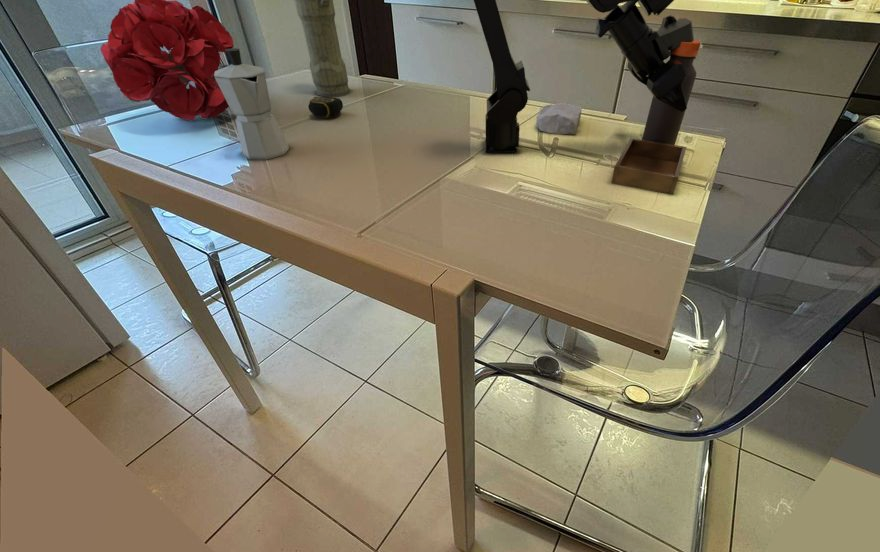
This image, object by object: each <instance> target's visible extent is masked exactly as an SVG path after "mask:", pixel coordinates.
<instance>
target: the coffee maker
mask: <svg viewBox="0 0 880 552" xmlns="http://www.w3.org/2000/svg"><path fill="white" fill-rule="evenodd" d="M225 51H226V52H225V53H226V55H227V57H228V59H229V60H230V62H231V63H230V64H220V65H219V68H218V70H217V71H215V74H214V77H215V79H216V81H217V83H218V85H219V87H220V89H221V91H222V93H223V95H224V97H225V99H226V101H227V103H228V105H229V107H228V108H229V109H230V111H231V113H232V114H234V115H235V116H236V118H235V119H234V120H235V126H236V129H237V130H236V131H237V135H238V141H239V145H240V151H241V155H242V156H243V157H245V158H246V159H248V160H253V161H254V160H260V161H261V160H262V161H263V160H264V161H265V160H271V159H275V158H278V157H282V156H284V155H286V153H287V152H288V151H289V150H290V147H289V145H288V143H287V141H286V138H285V136H284V134H283V132H282V130H281V128H280V126H279V123H278V122H277V120H276V117H275V115H274V114H272V112H271V110H272V107H271V106H272V105H271V99H270V94H269V90H268V89H269V88H268V84H267V77H266V72H265V67H262V66H256V65H252V64H248V63H242V58H241V51H240V48H237V47H236V48H235V47H233V48H232V49H226V50H225Z"/></svg>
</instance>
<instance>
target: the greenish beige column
mask: <svg viewBox="0 0 880 552" xmlns="http://www.w3.org/2000/svg"><path fill="white" fill-rule="evenodd" d="M294 5H295V9H296V14H297V16H298V17H299V19H300V22H301V25H302V31H303V35H304V39H305V43H306V47H307V51H308V56H309V70H310V74H311V78H312V82H313V84H314V87H315V92H316V93H315V94H316V95H318V96H319V97H333V98H335V97H341V96H344V95H345V96H346V95H347V94H349V93H350V88H349V77H348V73H347V67H346V63H345V61H344V59H343V56H342V53H341V46H340V42H339V36H338V31H337V25H336V20H335V16H336V10H335V5H334V0H294Z"/></svg>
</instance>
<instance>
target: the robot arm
mask: <svg viewBox="0 0 880 552" xmlns="http://www.w3.org/2000/svg"><path fill="white" fill-rule="evenodd" d="M585 1H586V3H587V4H588V5H589V6H590V7H591V8H593V9H594V10H595V11H597V12H599V13H602V14H605V13H607V14H606V15H605V16H604V17H596V26H595V30H594V34H595V35H596V36H597V37H598V38H599V39H601V38H603V37H604V36H605V35H606V34H607V33H609V34H610V36H611V38H612V39H613V41H614V42H615V44H616V45H617V46H618V48H619V50H620V53H621V54H622V56H623V57H624V58H625V59H626V60H627V66H626V68H627V69H628V71H629V72H630V74H631V75H632V77H634V78H635V79H636V80H637V81H638V82H640V83H641V84H643V85H645V86H646V88H647V90H648V91H649V92H650V93H651V95H652V97H653V96H654V97H655V98H656V99H657V100H660V101H662V102H664V103H666V104H668V105H669V106H671V107H673V108H675V109H677V110H679V111H680V112H683V111H685V112H686V110H687V109H688V105H687V106H686V102H685V98H684V94H683V90H682V83H683V80H684V79H685V78H686V76H687V74H688V71H687V70H686V68H685V67H684V65H683V64H682V63H681V62H679V61H678V60H670V59H668V58H670V55H671V53H670V50H673V49H676V48H678V47H680V44H681V42H693V41H694V40H695V37H694V30H693V21H692V20H691V19H688V18H686V17H683V18H682V17H679V18H678V19H677V18H676V17H675V16H674V15H672V14H669V15H667V16H665V17H663V18H662V19H661V20H662V21H661V24H660V27H658V30H653V29H652V28H651V27H650V26H649V24H648V22H647V20H646V19H645V18H644V16H643V14H642V13H641V11H640V10H639V8H638V6H639V7H640V9H641V10H642V11H643V12H644V14H645V15H646V16H647V17H650V16H651V15H653V16H656V17H658V16H660V14H662V12H664V11H665V10H666V9H667V8H668V7H669V6H670V5H671V4H672V3H674V1H675V0H585ZM473 3H474V6H475V9H476V13H477V16H478V19H479V23H480V26H481V29H482V32H483V36H484V39H485V43H486V46H487V48H488V53H489V55H490V59H491V62H492V68H493V75H494V83H495V88H496V89H495V90H494V92H492V94H491V95H489V96H488V98H487V99H486V113H485V139H484V152H485V153H487V154H516V153H518V148H519V146H520V131H521V130H520V128H521V127H520V123H519V122H518V115H519V113H520V112H521V111H523V110H524V109H525V108H526V105H527V103H528V101H529V97H528V96H529V95H528V92H531V88H530V87H531V86H530V84H529V80H528V79H527V78H526V71H525V67H524V62H523V60H522V59H521V60H519V61H517V62H515V60H514V58H513V56H512V54H511V51H510V47H509V43H508V41H507V40H508V39H507V36H506V33H505V29H504V26H503V21H502V16H501V14H500V10H499V7H498V2H497V0H473ZM622 3H623V4H622ZM619 4H622V5H621V6H619ZM636 4H638V6H637V5H636ZM666 60H667V61H666ZM665 61H666V62H665Z"/></svg>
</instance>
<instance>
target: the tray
mask: <svg viewBox="0 0 880 552" xmlns="http://www.w3.org/2000/svg"><path fill="white" fill-rule="evenodd" d="M686 151H687V146H683V145H679V144H678V145H677V144H675V145H671V144H665V143H659V142H653V141H646V140H642V139H640V138H634V137H630V138H629V140H628V141H627V143H626V145H625V147H624V149H623V151H622V152H621V154H620V156H619V158H618V160H616V161H617V162H616V163H615V164H614V169H613V172H612V179H611V184H616V185H621V186H626V187H632V188H637V189H641V190H648V191H653V192H657V193H664V194H668V195H674V193H675V189H676V186H677V183H678V181H679V180H678V179H679V176H680V173H681V168H682V165H683V162H684V158H685V154H686Z"/></svg>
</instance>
